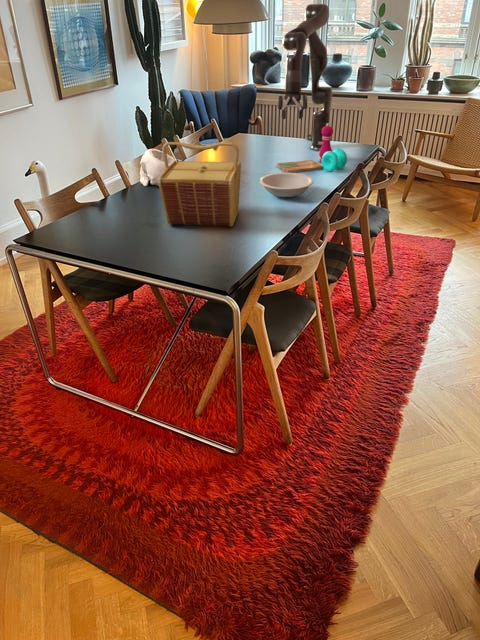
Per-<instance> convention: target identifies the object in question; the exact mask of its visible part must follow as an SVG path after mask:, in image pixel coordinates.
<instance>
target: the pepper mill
mask: <svg viewBox="0 0 480 640" xmlns="http://www.w3.org/2000/svg"><path fill="white" fill-rule="evenodd" d="M333 134H334V129H333V127H332V126H331V124H330V122H329V123H327V124H326V126H325V127H324V128H323V129H322V135H323V136H322V139H323V144H322V147H321V149H320V150H318V151H319V152H318V156H319V160H318V161H319V164H322V157H323V155H324V154H325V153H326V152H328V151H332V152H333V149H332V146H331V145H332V144H331V140H332V139H333V137H332V135H333ZM330 163H331V160H330Z"/></svg>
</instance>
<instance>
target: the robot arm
mask: <svg viewBox="0 0 480 640" xmlns="http://www.w3.org/2000/svg"><path fill="white" fill-rule="evenodd" d="M305 7H306V8H305V11H304V12H305V13H304V20H303V21H302V22H300V23H299V24H298V25H297V26H296V27H294V28H293V29H290V30H289V31H287V32H286V34H284V36H283V37H282V38H283V39H282V46H283V48H284V49H285V50H286V51H288V52H289V51H290V52H291V51H295V52H294V54H292V55H290V56H288V57H287V58H286V62H285V63H286V64H285V65H286V67H285V76H284V77H285V80H284V82H285V84H284V95H278V103H277V109H278V110H281V118H282V120H287V108H288V107H290V106H296V107H297V108H298V109H299V110H298V119H299V120H302V119H303V117H304V111H305V110H306V109H308V95H307V94H302V79H303V77H302V75H303V74H302V64H303V63H302V62H303V56H304V53H305V49H306V46H307V42H308V54H309V56H308V57H309V68H310V75H311V77H310V78H311V101H312V103H313V105H317V106H323V108H322V109H320V110H316V111H315V112H313V117H312V118H313V120H312V135H311V134H310V133H309V134H307V135H306V137H305V138H306V140H308V141H311V150H314V151H320V149H321V147H322V144H323V139H322V136H323V135H322V129H323V128H324V127H325V126H326V124H327V123H329V124H330V116H331V109H332V101H333V89H332V87H330V86H320V79H321V78H322V76H323V74H324V73H325V70H326V69H327V66H328V63H329V61H328V50H327V47H326V45H325V44H324V42H323V40H322V39H321V38H320V36H319V34H318V32H317V31H318V30H320V29H321V28H323V27H325V26H326V25H327V23H328V21H329V20H330V19H329V18H330V8H329V5H328V4H326V3H310V4H308V5H307V6H305ZM307 40H308V41H307ZM301 100H302V101H301ZM284 101H285V102H284Z"/></svg>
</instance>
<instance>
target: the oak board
mask: <svg viewBox="0 0 480 640" xmlns="http://www.w3.org/2000/svg"><path fill="white" fill-rule="evenodd" d="M277 168H278V169H280V170H282V171H283V173H305V172H315V171H320V170H321V171H322V170H324V168H323V166H322V164H321V163H318V162H316V161H315V160H313V159H309V160H308V159H307V160H299V161H286V162H277Z"/></svg>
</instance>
